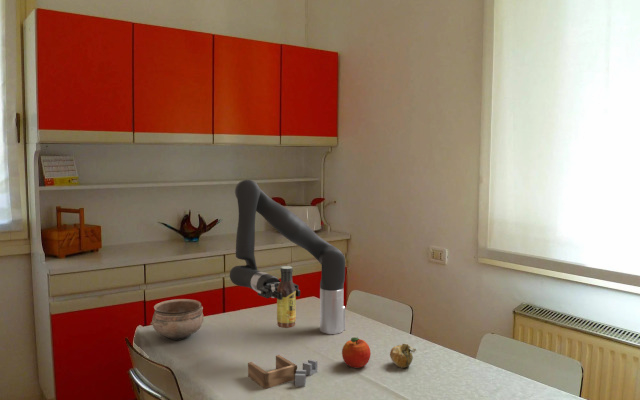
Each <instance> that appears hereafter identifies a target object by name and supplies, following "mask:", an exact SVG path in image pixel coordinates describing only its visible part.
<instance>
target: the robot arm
mask: <svg viewBox="0 0 640 400" xmlns="http://www.w3.org/2000/svg"><path fill="white" fill-rule="evenodd" d="M234 193H235V197H236V199H237V207H238V219H237V228H236V236H235V237H236V239H235V257H236V259H238V260H240V261H241V260H243V261H245V264H246V265H235V266H234V267H232V268H231V270H230V272H229V280H230V281H231V282H232V283H233V285H236V286H239V287H244V288H249V289H251V290H253V291H255V292H256V293H257V296H260V297H262V298H265V299H270V298H271V299H276V300H277V299H279V300H282V293H281V292H278V291H277V289H278V285H279V283H280V282H281V279H279V278H278V277H277V276H275V275H273V274H270V273H268V272H265V271H260V270H258V266H257V262H256V256H255V245H256V242H255V241H256V233H255V232H256V214H257V213H258V214H259V215H261V217H262V218H264V219H265V221H267V223H268V224H270V226H271V227H273V228H274V229H275V231H276V232H278V233H279V234H280V235H282V236H283V237H284V238H285V239H287V240H288V241H290V242H292V243H293V244H295V245H296V246H298V247H301V248H302V249H304V250H305V251H307V252H308V253H309V254H310V255H312V256H313V257H314V258H315V260H316V261H318V263H319V264H320V265H321V279H320V282H319V332H321V333H323V334H328V335H336V334H340V333H342V332H344V331H346V306H345V305H344V288H345V287H344V283H345V281H346V257H345V255H344V254H343V252H342V251H341V250H340V249H339V248H338V247H336V246H334V245H332V244H331V243H329V242H328V241H326V240H325V239H323V238H322V237H320V236H319V235H318V234H316V232H315V231H314V230H313V229H312V228H311V227H310V226H309V225H308V224H307V223H306V222H305V221H304V220H303V219H301V218H300V217H299V216H298V215H297V214H295V213H294V212H292V211H291V210H290V209H288V208H286V207H285V206H283V205H281V204H280V203H279V202H278V201H277V202H276V201H275V200H274V199H272V198H271V197H270V196H268V195H267V193H265V192H264V191H263V190H262V189H261V187H260V186H259V185H258V183H257V182H256V181H254V180H252V179H243V180H241V181H239V182H237V184H236V186H235V188H234ZM293 284H294V287H295V290H296V298H299V297H301V290H300V289H299V287H300V286H299V285H298V284H296V283H294V282H293Z"/></svg>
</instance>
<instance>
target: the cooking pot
mask: <svg viewBox="0 0 640 400" xmlns="http://www.w3.org/2000/svg"><path fill="white" fill-rule="evenodd" d="M153 308H154V313H153V315H152V319H151V320H152V321H151V322H150V325H152V327H153V328H154V331H156V333H158V334H159V335H161V336H163V337H165V338H169V339H170V340H172V341H173V340H175V341H179V340H184V339H187V338H188V337H189V336H191V335H193V334H194V333H196V332H198V330H199V329H200V328H201V327H202V326H203V323H204V319H205V318H204V314H203V309H204V307H203V305H202V303H201V302H200V301H199V300H196V299H189V298H188V299H187V298H177V299H176V298H175V299H170V300H164V301H161V302H159V303H155V305H154V306H153Z"/></svg>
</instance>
